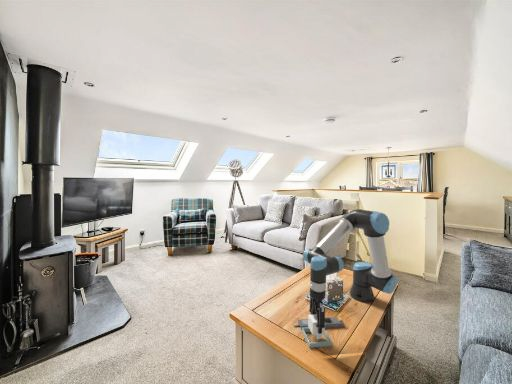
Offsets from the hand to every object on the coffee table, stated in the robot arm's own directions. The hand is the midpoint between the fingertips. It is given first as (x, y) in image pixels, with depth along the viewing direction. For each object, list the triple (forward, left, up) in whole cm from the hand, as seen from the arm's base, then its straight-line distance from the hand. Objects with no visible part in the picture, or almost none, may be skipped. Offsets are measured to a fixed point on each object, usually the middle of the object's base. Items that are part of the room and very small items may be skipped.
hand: (316, 333), depth 111 cm
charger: (0, 0, 0) cm, 0 cm away
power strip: (-5, -10, -4) cm, 11 cm away
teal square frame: (0, 0, -4) cm, 4 cm away
